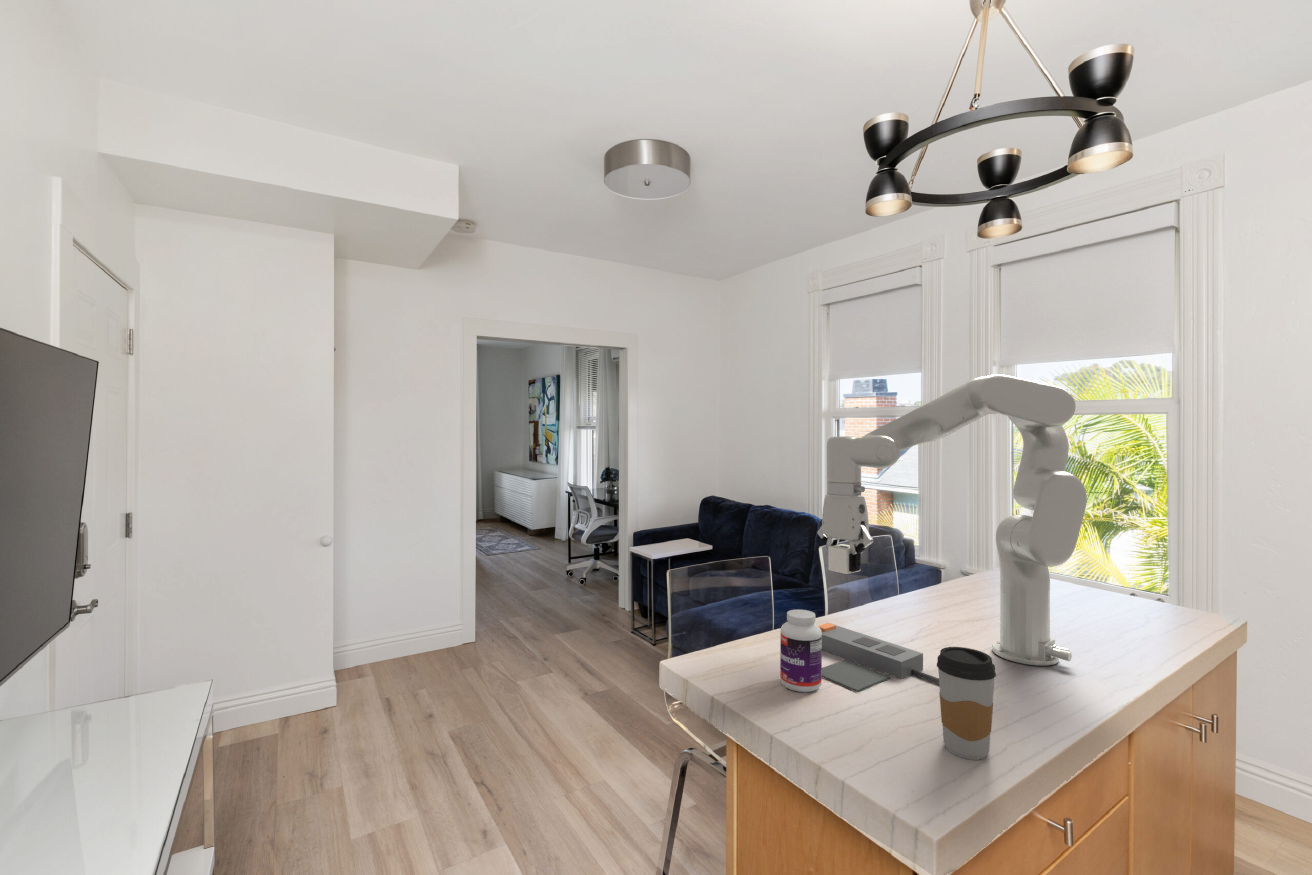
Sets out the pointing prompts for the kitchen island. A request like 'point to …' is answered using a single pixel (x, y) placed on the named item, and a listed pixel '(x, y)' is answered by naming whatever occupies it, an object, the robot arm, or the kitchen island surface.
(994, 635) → the kitchen island surface
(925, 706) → the kitchen island surface
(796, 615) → the pill bottle
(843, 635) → the power strip
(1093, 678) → the kitchen island surface
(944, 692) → the coffee cup
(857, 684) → the mat
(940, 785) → the kitchen island surface
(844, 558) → the block
